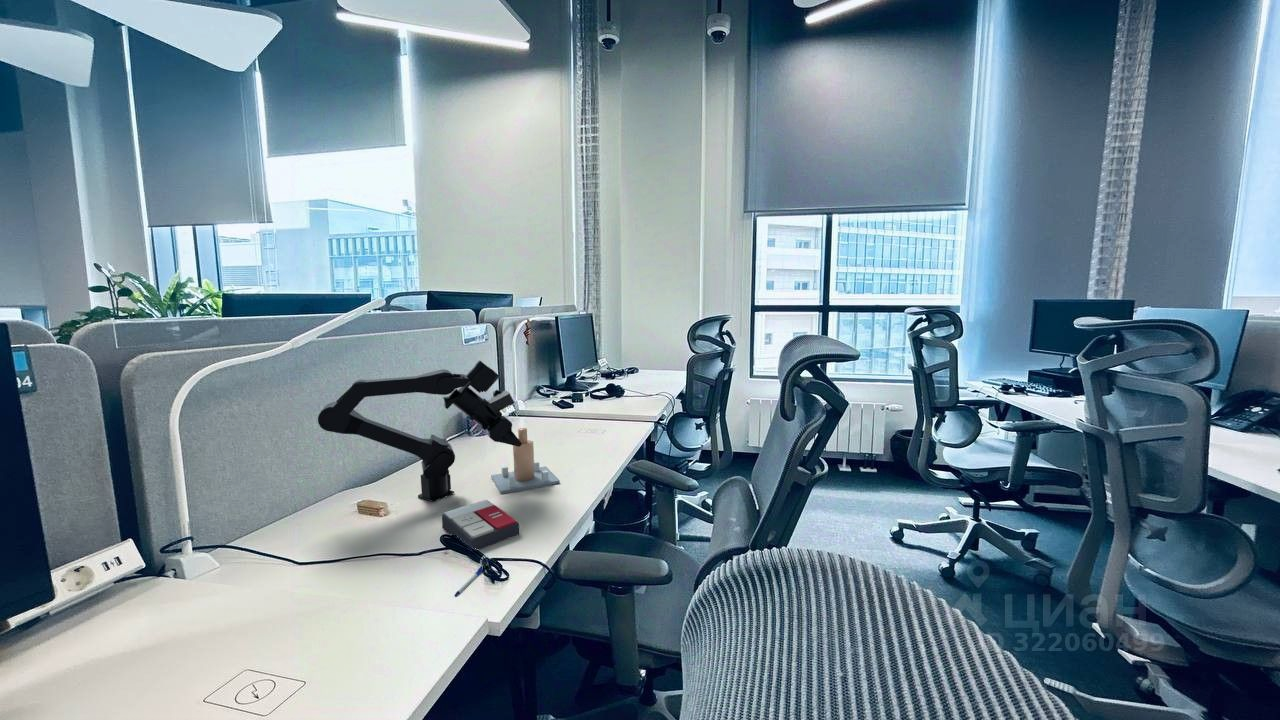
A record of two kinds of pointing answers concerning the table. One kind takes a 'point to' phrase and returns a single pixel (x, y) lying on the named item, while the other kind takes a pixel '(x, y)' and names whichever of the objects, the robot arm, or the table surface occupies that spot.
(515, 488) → the plate
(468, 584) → the ballpoint pen
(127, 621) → the table surface
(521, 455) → the tan bottle
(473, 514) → the calculator
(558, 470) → the table surface
